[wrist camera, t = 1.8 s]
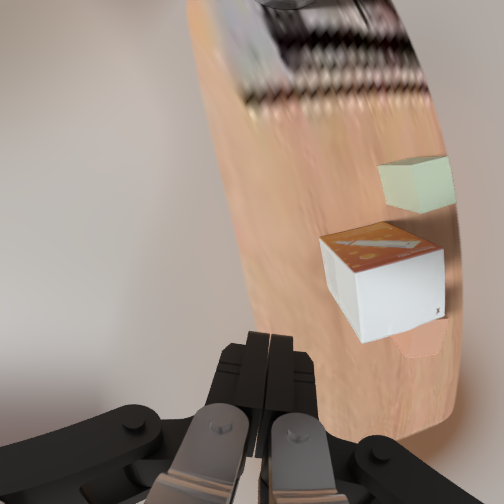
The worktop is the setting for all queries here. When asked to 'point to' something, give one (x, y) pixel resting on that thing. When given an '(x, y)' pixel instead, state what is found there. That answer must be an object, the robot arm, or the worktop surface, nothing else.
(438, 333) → the terracotta block
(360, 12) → the worktop surface
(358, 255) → the small box
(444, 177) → the sage block
